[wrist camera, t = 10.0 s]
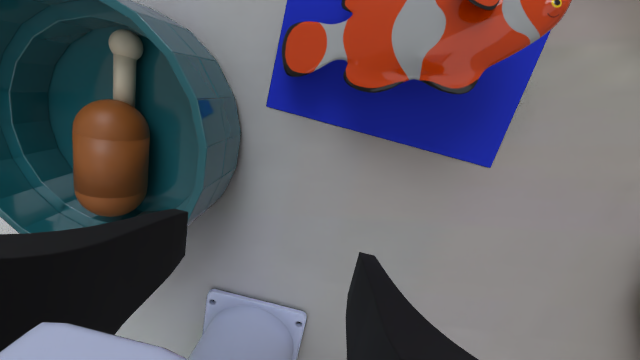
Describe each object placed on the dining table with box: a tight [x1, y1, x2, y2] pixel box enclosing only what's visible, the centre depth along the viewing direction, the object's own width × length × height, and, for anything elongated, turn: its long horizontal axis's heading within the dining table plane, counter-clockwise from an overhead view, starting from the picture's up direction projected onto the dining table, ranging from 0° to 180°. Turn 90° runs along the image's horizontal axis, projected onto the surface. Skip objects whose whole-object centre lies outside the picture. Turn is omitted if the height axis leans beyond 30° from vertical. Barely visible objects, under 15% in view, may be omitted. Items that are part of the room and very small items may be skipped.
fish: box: [281, 0, 572, 95], centre depth 15 cm, size 13×5×9 cm
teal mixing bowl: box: [0, 0, 241, 234], centre depth 19 cm, size 15×15×6 cm
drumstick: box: [72, 29, 150, 217], centre depth 19 cm, size 12×4×4 cm, turn 168°
